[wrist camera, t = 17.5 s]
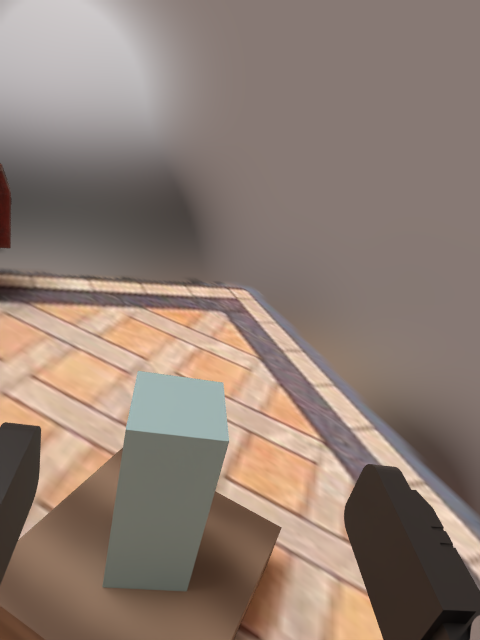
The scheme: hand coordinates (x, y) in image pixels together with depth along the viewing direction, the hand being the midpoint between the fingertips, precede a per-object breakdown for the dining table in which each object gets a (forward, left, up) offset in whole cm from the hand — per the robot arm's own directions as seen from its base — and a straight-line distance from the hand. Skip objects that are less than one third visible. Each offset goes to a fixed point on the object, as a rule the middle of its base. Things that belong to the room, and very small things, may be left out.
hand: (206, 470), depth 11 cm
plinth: (+10, +5, -23) cm, 25 cm away
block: (+10, +5, -18) cm, 22 cm away
